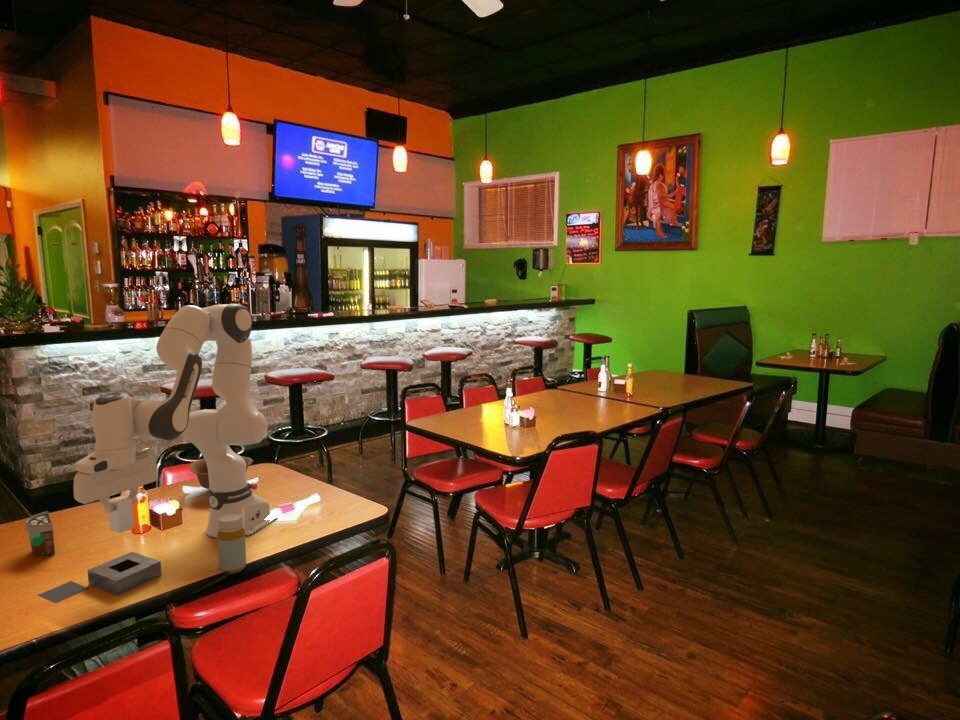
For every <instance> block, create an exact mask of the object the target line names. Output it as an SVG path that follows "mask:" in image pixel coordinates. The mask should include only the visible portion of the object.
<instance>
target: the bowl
mask: <svg viewBox="0 0 960 720" xmlns="http://www.w3.org/2000/svg"><path fill="white" fill-rule="evenodd" d="M240 456H241V455H240ZM241 457H242V458H243V459H244V460H245V463H246V473H247V472H248V467H249V466H251V465H252V464H253V462H254V460H253V459H252V458H251V457H249V456H248V457H247V456H241ZM188 468H189V469H190V472H192V473H193V474H195V475H196V477H197V479H198V482H199V485H200V486H201V487H202V488H204V489H205V490H208V489H209V476H208V468H207V464H206V461H205V459H204V458H201V459H198V460H196V461H193V462H192V463H191V464H190V465H189V467H188Z"/></svg>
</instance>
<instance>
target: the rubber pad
mask: <svg viewBox="0 0 960 720" xmlns="http://www.w3.org/2000/svg"><path fill="white" fill-rule="evenodd" d="M89 589H90V588H89V587H87V586H84V585H82V584H80V583H77V582H74V581H73V580H70V581H68V582H65V583H63V584H61V585H58V586H56V587H54V588H51V589H49V590H46V591H44V592H41V593H39V594H37V596H38V597H40V598H43V599H45V600H47V601H49V602H52V603H53V604H57V603H60V602H62V601H64V600H66V599H69V598H72V597H73V596H75V595H78V594H81V593H82V592H85V591H87V590H89Z"/></svg>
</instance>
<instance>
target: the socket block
mask: <svg viewBox="0 0 960 720" xmlns="http://www.w3.org/2000/svg"><path fill="white" fill-rule="evenodd" d="M161 576H162V563H161V560H158V559H154V558H153V557H152V558H151V557H150V556H146V555H143V554H140V553H138V552H134V551H131V552H128V553H126V554H123V555H121V556H118V557H116V558H114V559H112V560H108V561H106V562H103V563H101V564H99V565H97V566H94V567H91V568H90V569H87V581H88V582H87V583H88V586H90V587H93V588H96V589H97V590H101V591H103V592H105V593H108V594H111V595H113V596H115V597H120V596H122V595H123V594H125V593H127V592H130V591H132V590H134V589H136V588H138V587H141V586H143V585H145V584H147V583H149V582H151V581H153V580H156V579H157V578H159V577H161Z"/></svg>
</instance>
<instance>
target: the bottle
mask: <svg viewBox="0 0 960 720" xmlns="http://www.w3.org/2000/svg"><path fill="white" fill-rule="evenodd" d="M218 526H219V532H218V535H217V553H218V554H217V555H218V568H219V570H220V571H222V572H225V574H226V575H231V574H232V575H233V574H237V573H239V572H241V571H243V570H244V569H245V568H246V566H247V551H246V550H247V548H246V536H245V530H244V528H243V517H242V514H240V513H228V514H224V515H222V516H220V517H219V518H218Z"/></svg>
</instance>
